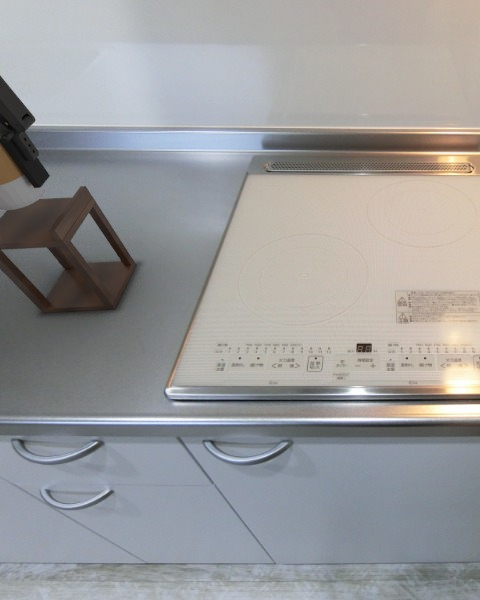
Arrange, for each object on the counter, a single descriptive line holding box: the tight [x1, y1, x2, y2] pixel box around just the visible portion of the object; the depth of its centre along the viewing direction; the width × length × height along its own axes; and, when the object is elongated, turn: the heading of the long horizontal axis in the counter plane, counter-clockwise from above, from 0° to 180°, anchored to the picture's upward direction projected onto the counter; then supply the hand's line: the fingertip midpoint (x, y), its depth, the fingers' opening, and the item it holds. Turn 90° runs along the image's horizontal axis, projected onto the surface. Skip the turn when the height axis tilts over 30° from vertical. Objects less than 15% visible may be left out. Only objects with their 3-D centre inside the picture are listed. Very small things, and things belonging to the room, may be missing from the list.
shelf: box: [0, 185, 137, 314], centre depth 65 cm, size 11×10×16 cm
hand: (9, 183), depth 56 cm, fingers closed on coffee cup, 7 cm apart
